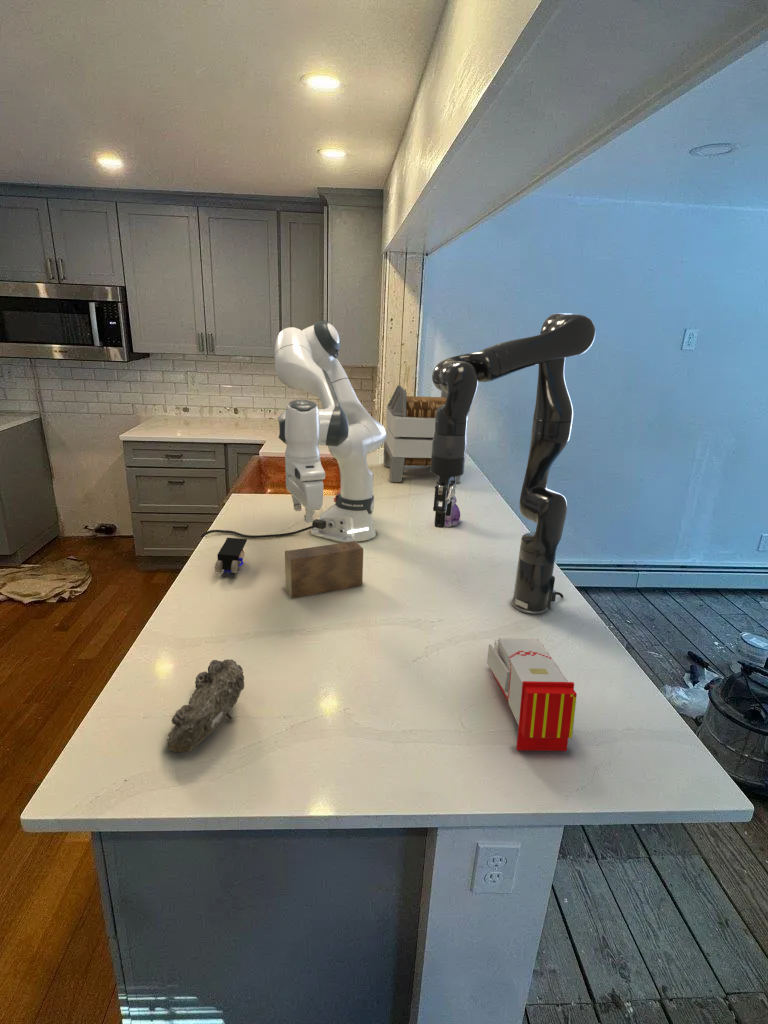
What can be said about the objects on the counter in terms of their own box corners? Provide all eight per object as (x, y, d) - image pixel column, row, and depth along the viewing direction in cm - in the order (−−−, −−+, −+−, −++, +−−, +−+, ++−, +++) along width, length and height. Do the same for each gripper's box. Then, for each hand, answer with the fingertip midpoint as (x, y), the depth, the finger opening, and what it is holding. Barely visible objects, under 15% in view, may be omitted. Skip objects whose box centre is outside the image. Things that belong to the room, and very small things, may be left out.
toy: (536, 621, 128) (586, 689, 98) (531, 676, 131) (578, 758, 101) (482, 620, 127) (517, 688, 98) (478, 675, 130) (511, 757, 101)
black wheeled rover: (238, 584, 162) (249, 557, 175) (236, 562, 158) (247, 536, 172) (215, 584, 161) (227, 556, 175) (212, 561, 158) (225, 535, 171)
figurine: (445, 529, 206) (449, 489, 200) (430, 519, 214) (433, 481, 209) (467, 525, 210) (470, 487, 205) (451, 516, 218) (454, 479, 213)
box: (291, 598, 153) (290, 559, 149) (285, 588, 158) (284, 551, 154) (362, 585, 162) (363, 548, 158) (354, 576, 167) (355, 540, 163)
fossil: (192, 660, 117) (244, 628, 112) (224, 691, 120) (276, 661, 115) (142, 746, 98) (202, 712, 93) (182, 779, 101) (242, 748, 96)
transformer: (382, 463, 289) (386, 382, 275) (445, 464, 293) (451, 384, 279) (390, 482, 257) (394, 392, 243) (460, 483, 261) (468, 394, 247)
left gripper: (279, 456, 152) (280, 504, 157) (303, 476, 135) (303, 530, 140) (301, 454, 155) (302, 502, 160) (328, 474, 138) (327, 527, 142)
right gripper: (460, 462, 119) (453, 534, 124) (469, 447, 132) (463, 513, 137) (425, 458, 120) (420, 529, 126) (438, 444, 133) (433, 509, 139)
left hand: (302, 515), depth 150 cm, fingers open, 8 cm apart
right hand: (442, 520), depth 131 cm, fingers open, 8 cm apart
